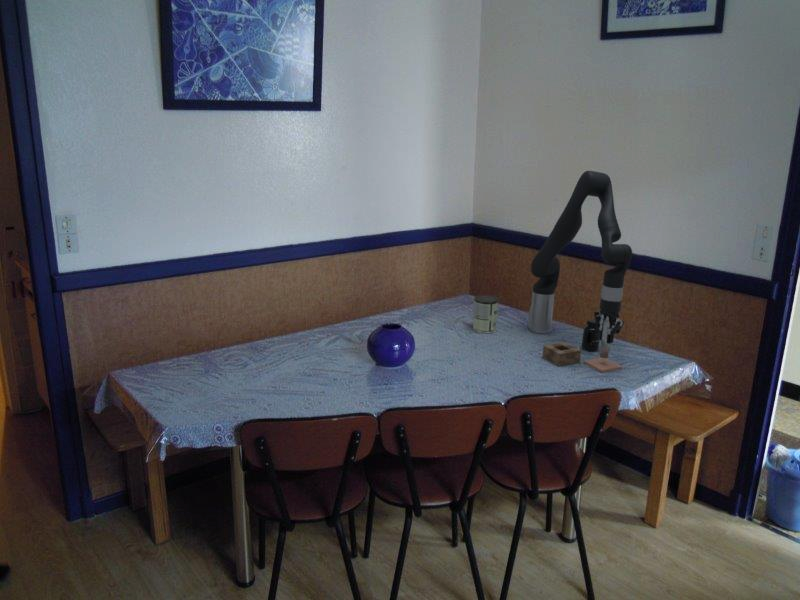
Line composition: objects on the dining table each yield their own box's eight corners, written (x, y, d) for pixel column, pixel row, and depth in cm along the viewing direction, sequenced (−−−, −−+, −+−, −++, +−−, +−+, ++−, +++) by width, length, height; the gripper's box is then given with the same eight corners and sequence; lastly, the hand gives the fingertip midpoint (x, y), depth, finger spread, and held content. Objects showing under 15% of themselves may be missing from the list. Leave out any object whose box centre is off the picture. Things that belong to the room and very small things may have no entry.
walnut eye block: (542, 357, 268) (543, 345, 266) (562, 353, 272) (563, 341, 271) (558, 366, 259) (560, 354, 258) (579, 362, 264) (581, 350, 262)
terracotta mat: (583, 363, 263) (583, 360, 263) (603, 359, 268) (603, 357, 267) (601, 372, 255) (602, 370, 254) (622, 368, 259) (622, 366, 259)
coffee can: (474, 324, 303) (476, 293, 299) (497, 326, 301) (499, 295, 297) (470, 332, 293) (472, 300, 289) (495, 334, 291) (497, 302, 287)
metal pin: (597, 355, 261) (602, 316, 256) (604, 354, 262) (609, 315, 258) (603, 358, 258) (608, 319, 253) (610, 357, 259) (615, 318, 255)
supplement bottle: (594, 353, 274) (598, 324, 270) (578, 349, 278) (581, 321, 274) (601, 348, 279) (604, 320, 275) (585, 344, 283) (588, 316, 279)
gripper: (590, 293, 258) (585, 336, 263) (617, 304, 246) (611, 349, 251) (605, 291, 261) (600, 334, 266) (633, 301, 249) (627, 346, 254)
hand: (605, 341), depth 258 cm, fingers closed on metal pin, 3 cm apart
